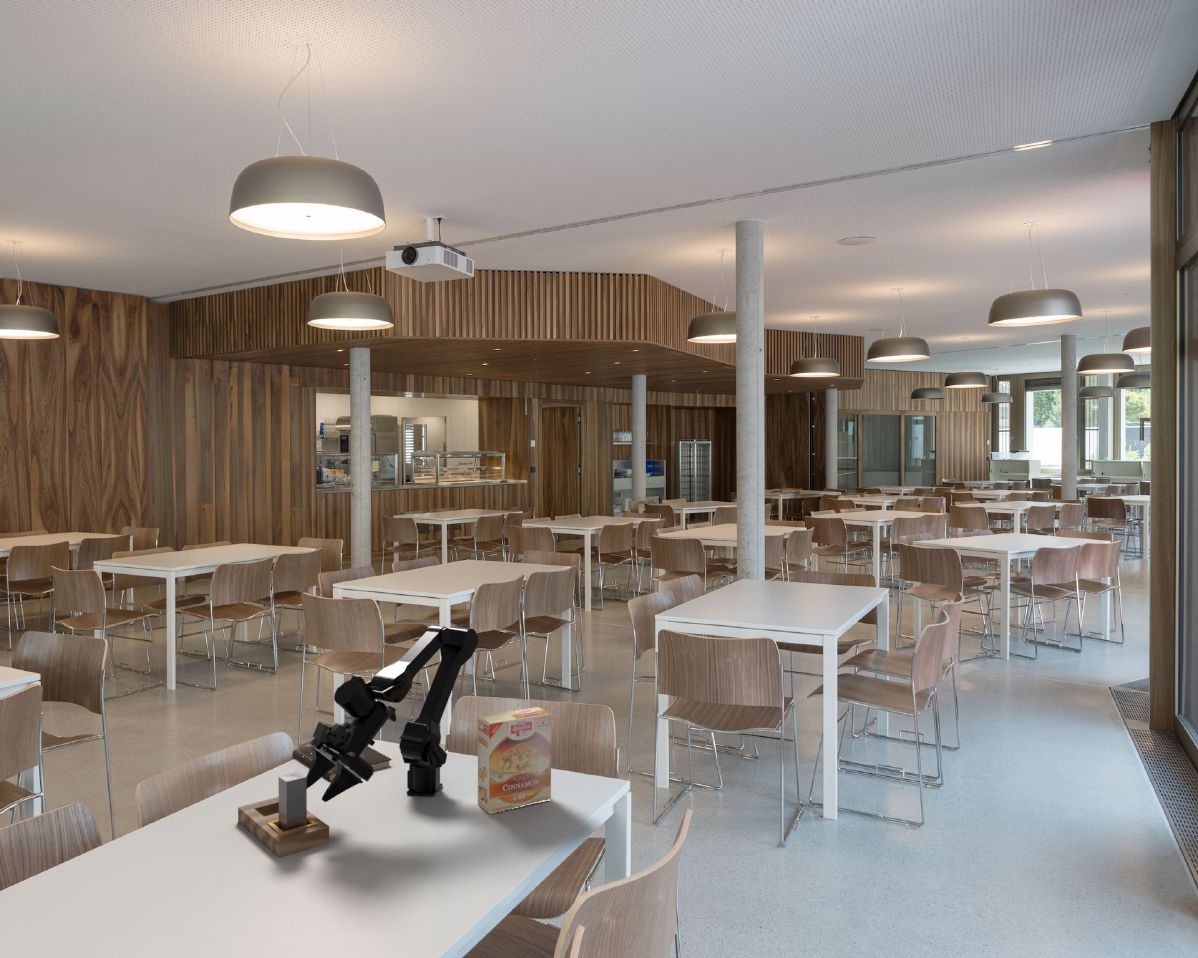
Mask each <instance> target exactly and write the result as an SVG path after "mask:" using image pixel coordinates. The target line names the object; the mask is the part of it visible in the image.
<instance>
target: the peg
mask: <svg viewBox="0 0 1198 958" xmlns="http://www.w3.org/2000/svg"><path fill="white" fill-rule="evenodd" d="M306 776H307V775H304V774H303V773H301V772H299V771H295V772H291V773H287V774H282V775H279V776H278V797H279V828H280V829H281V830H282V831H283V832H284V831H288V830H291V829H294V828H298V827H301V826H305V825H307V811H308V810H307V809H308V808H307V807H308V806H307V805H308V804H307V803H308V799H307V798H308V797H307V794H308V792H307V777H306Z"/></svg>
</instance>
